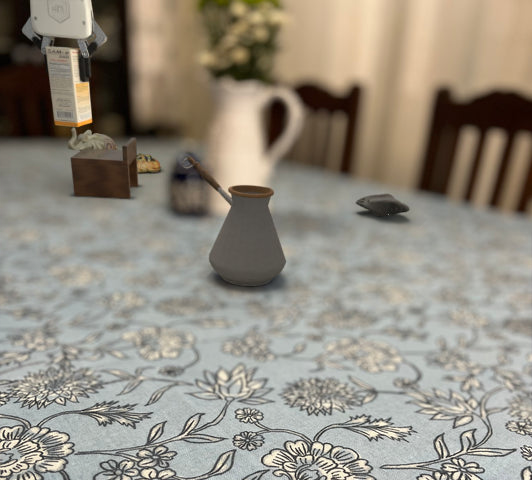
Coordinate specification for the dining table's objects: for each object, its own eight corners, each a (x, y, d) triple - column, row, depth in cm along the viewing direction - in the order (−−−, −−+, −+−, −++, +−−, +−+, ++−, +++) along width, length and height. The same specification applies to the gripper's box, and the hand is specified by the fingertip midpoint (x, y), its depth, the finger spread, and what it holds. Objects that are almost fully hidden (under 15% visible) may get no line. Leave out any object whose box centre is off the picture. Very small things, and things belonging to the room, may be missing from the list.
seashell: (390, 225, 111) (419, 214, 116) (389, 198, 108) (419, 188, 113) (350, 220, 120) (379, 210, 125) (348, 196, 117) (378, 186, 122)
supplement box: (69, 121, 105) (62, 46, 99) (93, 123, 105) (87, 48, 99) (53, 125, 98) (43, 45, 92) (78, 127, 98) (70, 47, 92)
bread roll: (147, 164, 152) (147, 146, 149) (168, 176, 146) (169, 158, 143) (113, 167, 146) (112, 149, 143) (133, 181, 140) (133, 162, 137)
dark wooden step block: (74, 195, 114) (68, 142, 109) (88, 182, 126) (83, 134, 121) (129, 198, 115) (126, 146, 110) (138, 185, 127) (136, 137, 122)
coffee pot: (300, 281, 78) (311, 178, 71) (241, 297, 71) (247, 185, 64) (214, 243, 91) (216, 153, 84) (157, 254, 84) (154, 157, 77)
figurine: (70, 190, 132) (47, 129, 124) (116, 172, 140) (98, 113, 131) (90, 195, 127) (68, 131, 118) (137, 176, 135) (119, 114, 126)
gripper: (-2, -48, 85) (15, 77, 94) (104, -37, 87) (111, 85, 96) (14, -40, 92) (29, 76, 100) (113, -30, 93) (119, 83, 102)
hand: (69, 79), depth 98 cm, fingers closed on supplement box, 5 cm apart
